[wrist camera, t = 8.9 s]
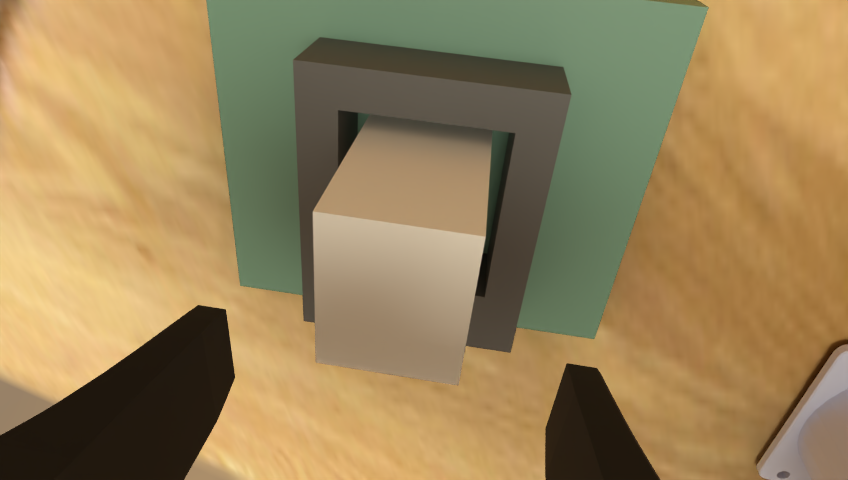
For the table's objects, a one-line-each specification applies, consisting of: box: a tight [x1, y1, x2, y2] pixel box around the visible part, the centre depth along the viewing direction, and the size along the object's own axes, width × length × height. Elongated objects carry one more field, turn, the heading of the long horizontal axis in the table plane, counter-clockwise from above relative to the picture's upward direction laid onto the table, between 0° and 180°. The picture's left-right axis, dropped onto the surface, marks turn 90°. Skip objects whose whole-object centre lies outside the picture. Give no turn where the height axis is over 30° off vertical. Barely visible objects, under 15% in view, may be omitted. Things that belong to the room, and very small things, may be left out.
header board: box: [206, 0, 709, 352], centre depth 18 cm, size 14×12×4 cm
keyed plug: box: [313, 114, 493, 385], centre depth 16 cm, size 4×5×7 cm, turn 175°
